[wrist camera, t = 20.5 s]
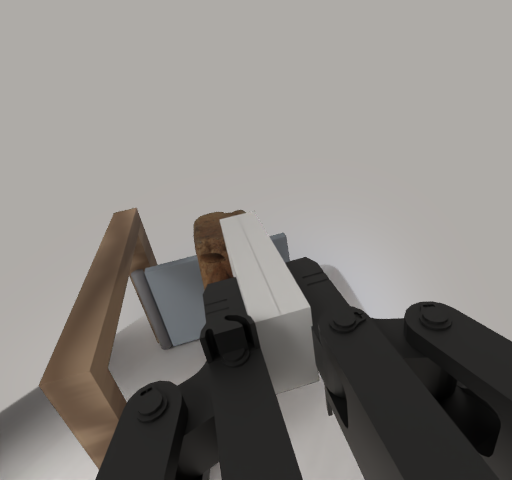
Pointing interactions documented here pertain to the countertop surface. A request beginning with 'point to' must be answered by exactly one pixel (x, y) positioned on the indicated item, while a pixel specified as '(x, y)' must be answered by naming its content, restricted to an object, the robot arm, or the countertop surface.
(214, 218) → the brown elongated rounded part
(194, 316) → the door
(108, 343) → the door frame
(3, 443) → the countertop surface
